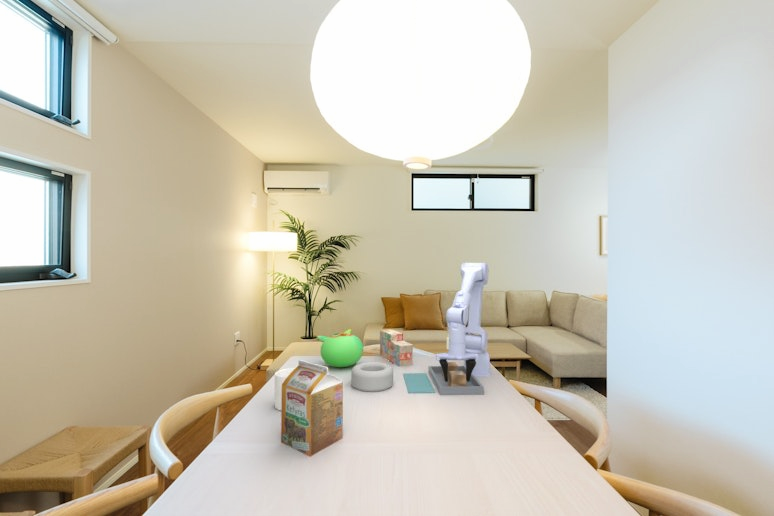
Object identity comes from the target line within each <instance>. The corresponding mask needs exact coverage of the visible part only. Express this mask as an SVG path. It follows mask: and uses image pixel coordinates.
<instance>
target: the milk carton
mask: <svg viewBox="0 0 774 516" xmlns="http://www.w3.org/2000/svg"><path fill="white" fill-rule="evenodd" d="M294 368H295V367H294ZM343 400H344V382H343V380H342V379H341V378H339V377H337V376H336V375H333V374H331V373H329V367H328V366H324V365H321V364H316V363H313V362H310V361H309V362H308V361H305V360H302V359H299V360H298V365H297V366H296V368H295V369H294V370H293V371H292V372H291V373H290V375H289V376H288V377H287V378H286V379H285V381H284V382H283V384H282V407H281V411H280V412H281V415H280V417H281V422H280V425H281V426H280V427H281V429H280V432H281V436H280V437H281V438H280V443H282V444H284V445H286V446H287V447H290V448H292V449H294V450H295V451H298V452H300V453H301V454H304V455H306V456H308V457H312V456H314V455H315V454H316V455H317V453H319V452H321V451H323V450H325V449H326V448H328V447H330V446H331V445H333V444H335V443H337V442H339V441H340V440H342V439H343V435H344V434H343V432H344V430H343V429H344V427H343V426H344V425H343V421H344V419H343V417H344V409H343V408H344V406H343V405H344V401H343Z"/></svg>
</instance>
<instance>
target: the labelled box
mask: <svg viewBox="0 0 774 516" xmlns="http://www.w3.org/2000/svg"><path fill="white" fill-rule="evenodd" d="M448 385H449V386H466V375H465V373H464V372H463V371H448Z"/></svg>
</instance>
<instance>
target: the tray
mask: <svg viewBox="0 0 774 516" xmlns="http://www.w3.org/2000/svg"><path fill="white" fill-rule="evenodd" d="M458 371H463V372H464V373H465V375H466V367H465V366H464V365H458ZM428 375H429V376H430V378H431V381H432V382H433V384H434V386H435V388H436V390H437V393H438V394H439V395H440V396H471V395H472V396H475V395H476V396H479V395H480V396H484V394H485V392H484V391H485V386H483V384H482V382H480V380H478V378H476V376H474V375H473V374H472V373H471V377H470V382H467V380H466V386H449V385H448V382H445V380H444V377H443V376H442V367H441V365H428Z"/></svg>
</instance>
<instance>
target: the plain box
mask: <svg viewBox="0 0 774 516" xmlns="http://www.w3.org/2000/svg"><path fill="white" fill-rule="evenodd" d="M447 363H448V371H458V366H459V365H458V364H457V362H456V361H447ZM442 376H443V377H444V374H443V370H442Z"/></svg>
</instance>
